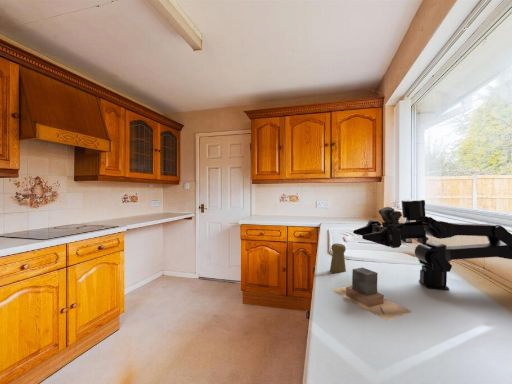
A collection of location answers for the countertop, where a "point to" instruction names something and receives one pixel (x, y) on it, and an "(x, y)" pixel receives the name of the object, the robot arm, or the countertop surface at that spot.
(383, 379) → the countertop surface
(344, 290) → the pine board
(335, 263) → the cork
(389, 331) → the countertop surface
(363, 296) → the sanding block
